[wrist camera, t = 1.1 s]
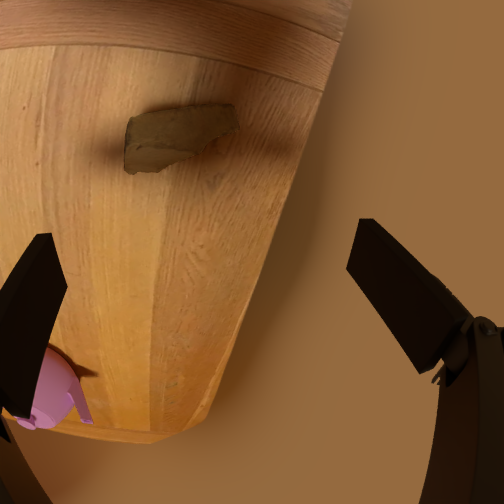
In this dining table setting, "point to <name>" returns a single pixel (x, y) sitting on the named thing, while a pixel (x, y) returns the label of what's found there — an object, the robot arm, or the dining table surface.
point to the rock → (174, 135)
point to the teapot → (55, 394)
